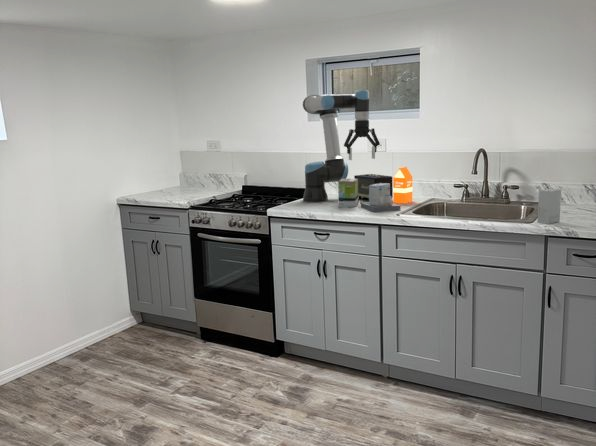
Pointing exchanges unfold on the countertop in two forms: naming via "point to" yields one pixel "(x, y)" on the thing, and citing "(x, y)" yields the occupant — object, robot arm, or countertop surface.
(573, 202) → the countertop surface
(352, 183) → the tea box
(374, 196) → the light bulb box
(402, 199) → the orange juice
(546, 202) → the skincare box
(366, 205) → the pin tray
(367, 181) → the speaker
